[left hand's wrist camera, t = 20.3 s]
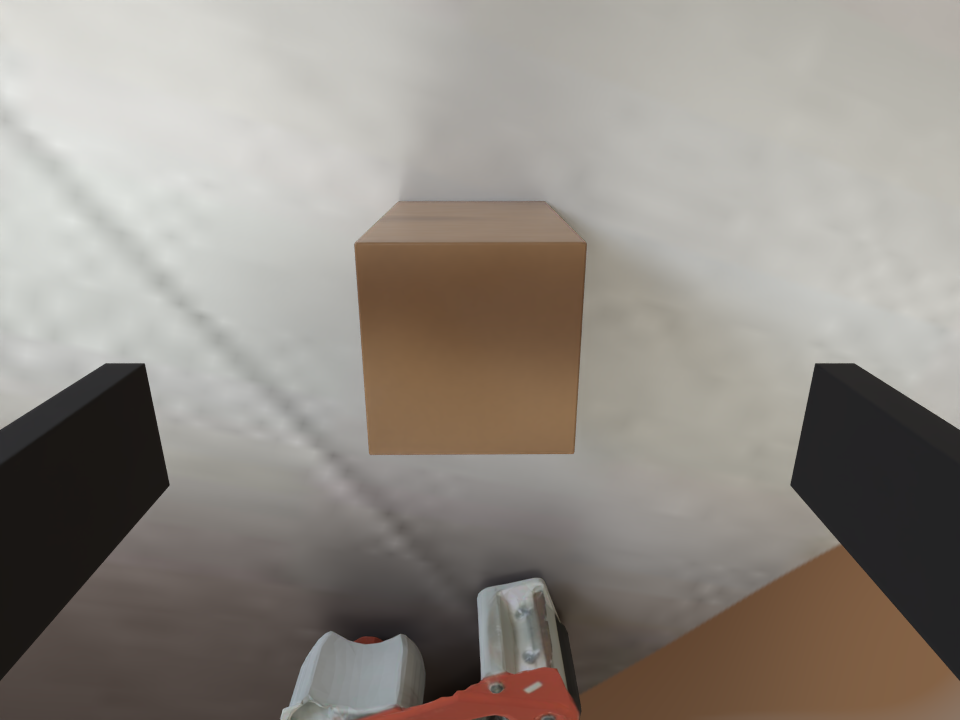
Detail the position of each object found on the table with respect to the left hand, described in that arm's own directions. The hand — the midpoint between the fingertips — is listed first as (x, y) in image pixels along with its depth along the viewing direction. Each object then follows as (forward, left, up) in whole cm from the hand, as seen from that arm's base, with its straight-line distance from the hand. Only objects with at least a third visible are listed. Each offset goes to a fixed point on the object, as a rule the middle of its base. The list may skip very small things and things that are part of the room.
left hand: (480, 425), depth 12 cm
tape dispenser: (-17, -17, -14) cm, 28 cm away
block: (0, 0, -14) cm, 14 cm away
